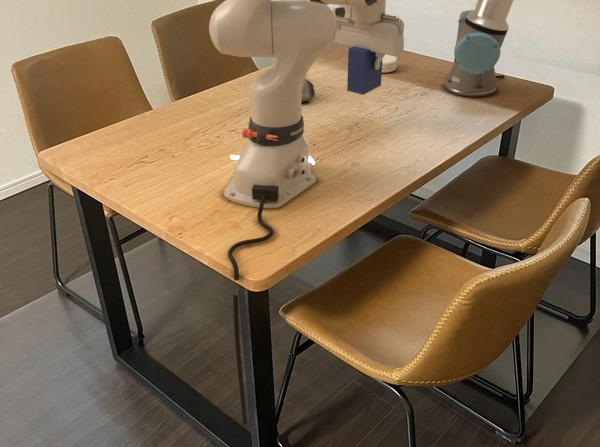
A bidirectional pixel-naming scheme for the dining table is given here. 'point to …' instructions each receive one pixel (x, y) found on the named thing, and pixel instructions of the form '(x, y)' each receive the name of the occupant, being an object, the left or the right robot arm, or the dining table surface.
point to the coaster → (389, 63)
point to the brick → (362, 71)
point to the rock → (307, 90)
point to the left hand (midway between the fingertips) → (364, 66)
